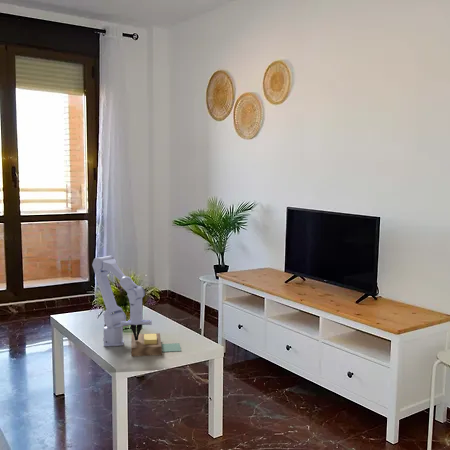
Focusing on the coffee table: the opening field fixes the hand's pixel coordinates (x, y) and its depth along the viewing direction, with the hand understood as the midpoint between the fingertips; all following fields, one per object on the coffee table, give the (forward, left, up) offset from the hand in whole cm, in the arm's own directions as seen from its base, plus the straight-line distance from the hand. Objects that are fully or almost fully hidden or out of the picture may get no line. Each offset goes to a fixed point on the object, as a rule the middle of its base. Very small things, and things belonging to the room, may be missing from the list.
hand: (136, 339), depth 246 cm
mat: (+17, 0, -5) cm, 17 cm away
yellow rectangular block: (+7, 0, -1) cm, 7 cm away
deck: (+5, +1, -5) cm, 7 cm away
